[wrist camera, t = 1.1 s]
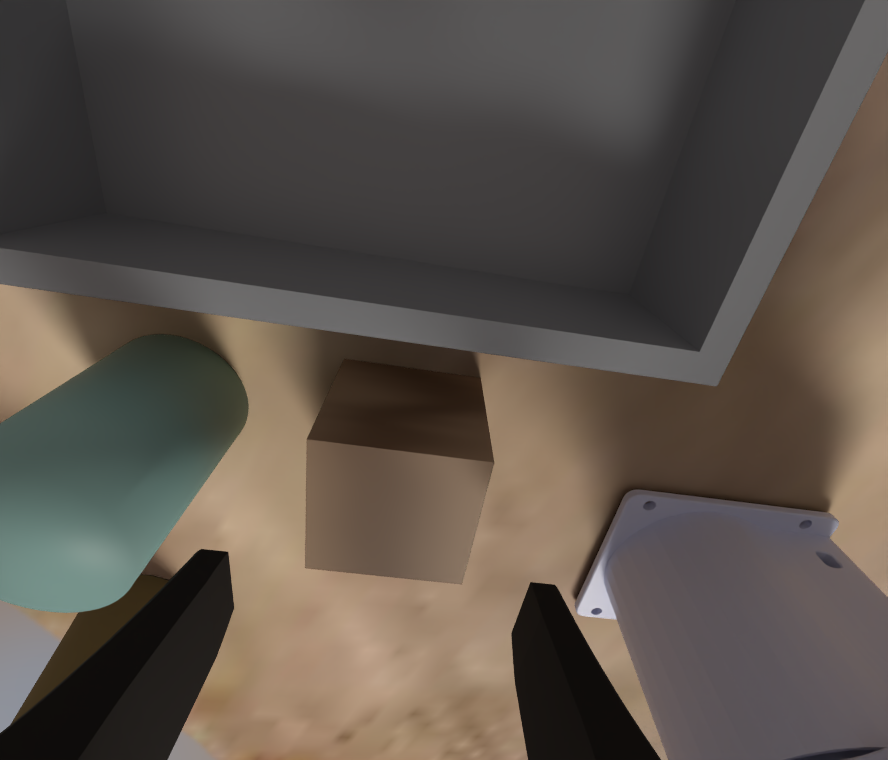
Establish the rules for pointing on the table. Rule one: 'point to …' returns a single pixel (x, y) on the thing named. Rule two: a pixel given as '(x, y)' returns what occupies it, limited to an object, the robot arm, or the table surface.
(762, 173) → the tote
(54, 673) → the cork
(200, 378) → the teal cylinder
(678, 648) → the robot arm
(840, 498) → the table surface
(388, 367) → the walnut cube
